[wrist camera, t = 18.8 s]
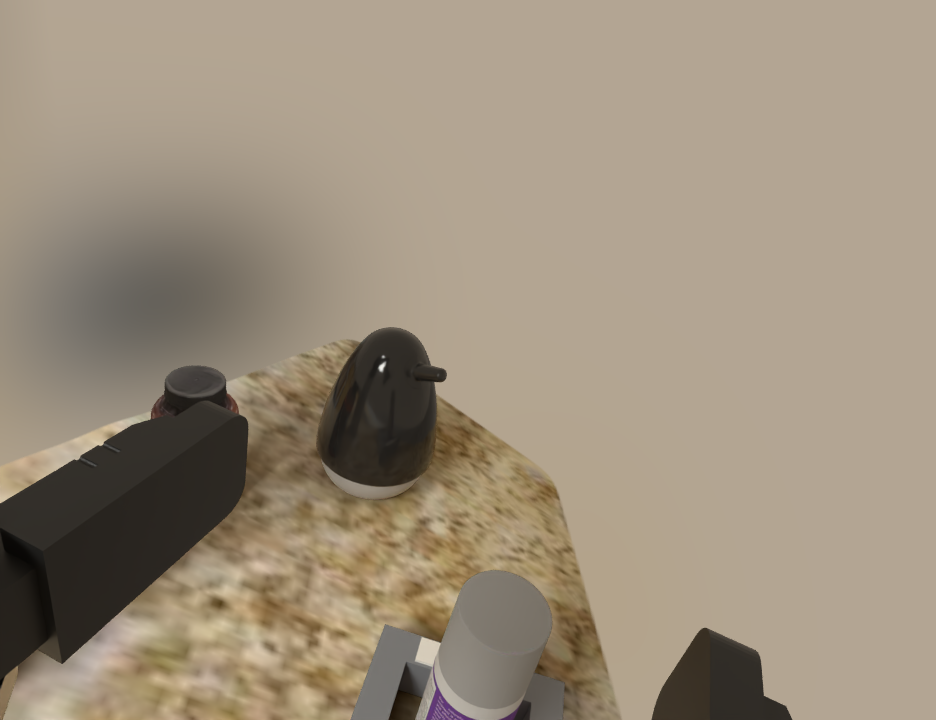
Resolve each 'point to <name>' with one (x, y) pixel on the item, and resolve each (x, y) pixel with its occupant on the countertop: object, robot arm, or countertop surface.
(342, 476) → the pump dispenser
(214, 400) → the supplement bottle
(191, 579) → the countertop surface
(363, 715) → the socket board
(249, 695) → the countertop surface
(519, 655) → the container
